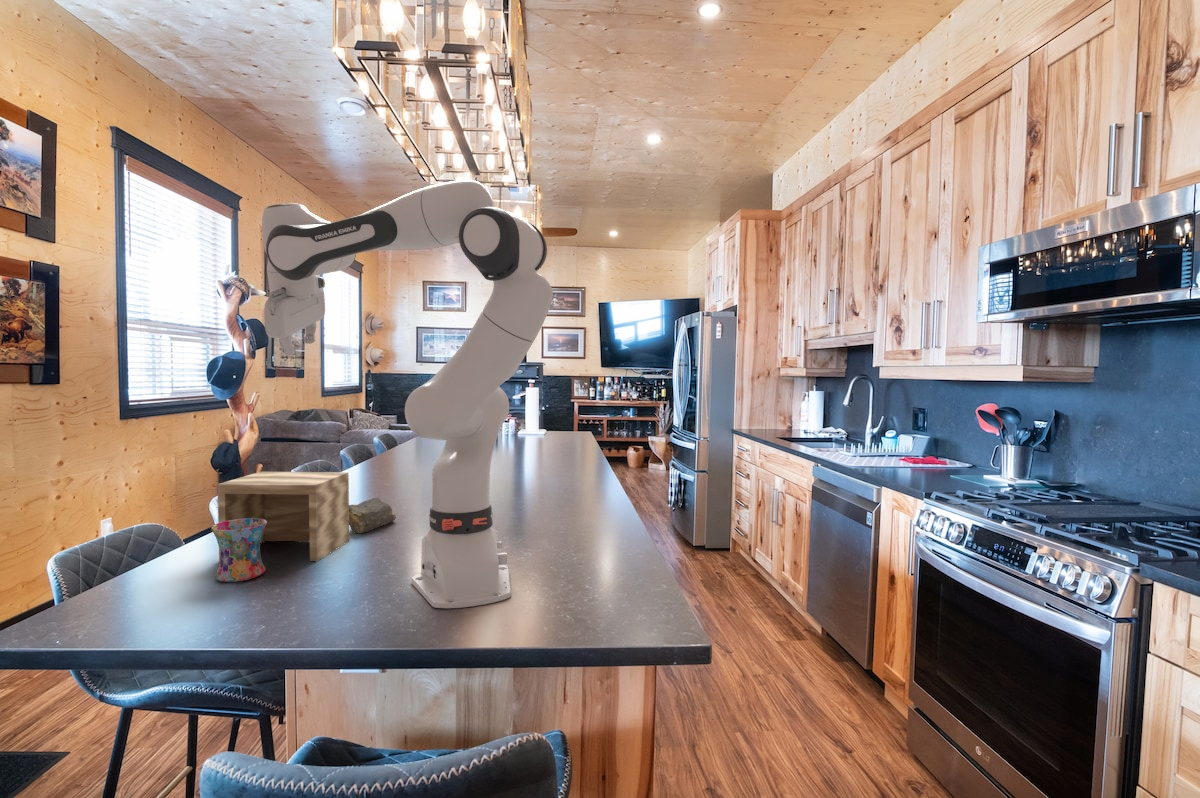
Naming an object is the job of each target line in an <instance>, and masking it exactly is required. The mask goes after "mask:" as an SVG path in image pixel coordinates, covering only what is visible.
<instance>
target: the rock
mask: <svg viewBox="0 0 1200 798" xmlns="http://www.w3.org/2000/svg"><path fill="white" fill-rule="evenodd" d="M396 518H397V515H395V514H394V513H393V509H392V507H391V505H389V504H388V503H386V502H384V501H382V500H381V499H380V498H379V497H372V498H371V499H368V500H367V499H366V500H364V501H362V502H360V503H358V504H349V528H350V530H351V531H352V533H354V532H355V533H354V534H362V533H363V534H366V533H369V532H371V531H372V530H374V528H375V529H378V528H377V527H379V528H381V527H380V526H382V527H384V526H387V525H388V524H390V523H391V522H394V521H395V520H396ZM383 525H384V526H383ZM370 530H371V531H370ZM368 531H369V532H368ZM365 532H366V533H365Z"/></svg>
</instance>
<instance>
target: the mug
mask: <svg viewBox="0 0 1200 798" xmlns="http://www.w3.org/2000/svg"><path fill="white" fill-rule="evenodd" d="M266 524H267V521H266V520H264V519H259V518H245V519H235V520H229V521H224V522H221V523H218V522H217V523H216V524H213V525H212V526H211V529H210V530H211V531H212V533H213V534H214V537H215V539H216V542H217V544H218V551H219V550H220V561H219V565H218V568H217V571H216V573H215V575H214V577H215V579H216V580H217V581H219V582H225V583H236V582H237V583H238V581H239V582H243V581H244V580H245V581H248V580H251V579H254V578H256V577H259V576H261V575H262V574H264V573H265V572H266V569H267V568H266V566H265V565H264V563H263V559H262V555H261V544H260V542H261V537H262V534H263V531H264V528H265V526H266ZM245 581H244V582H245Z"/></svg>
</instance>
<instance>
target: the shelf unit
mask: <svg viewBox="0 0 1200 798" xmlns="http://www.w3.org/2000/svg"><path fill="white" fill-rule="evenodd" d="M349 481H350V480H349V472H346V471H345V472H342V471H341V472H340V471H339V472H338V471H337V472H334V471H332V472H331V471H326V472H325V471H321V472H320V471H257V472H254V473H251V474H248V475H245V476H240V477H237V478H235V479H231V480H227V481H224V482H221V483H220V482H219V483H217V511H218V512H217V519H218V520H217V521H218V522H217V524H218V523H221V522H224V521H229V520H235V519H245V518H259V519H264V520H266V521H267V524H266V526H265V528H264V531H263V534H262V537H261V542H260V543H261V544H263V543H265V542H264V541H301V542H300V543H309V562H310V561H318V560H319V561H321V560H322V559H324V558H326V557H327V556H328V555H327V554H329V553H330V552H332V551H333V550H335V549H336V548H338V547H339V548H341V547H342V546H343V544H344V543H345V544H347V543H349V541H350V525H349V505H350V499H349V498H350V497H349V496H350V491H349V489H350V488H349V484H350V483H349ZM308 541H310V542H308ZM262 542H263V543H262ZM346 542H347V543H346ZM345 544H344V545H345ZM341 545H342V546H341ZM340 546H341V547H340ZM339 548H338V549H339ZM336 550H337V549H336ZM336 550H335V551H336ZM333 552H334V551H333ZM333 552H332V553H333ZM330 554H331V553H330ZM330 554H329V555H330ZM326 555H327V556H326ZM218 557H219V562H220V550H219V549H218ZM323 557H324V558H323ZM321 558H322V559H321ZM320 559H321V560H320ZM319 561H318V562H319Z"/></svg>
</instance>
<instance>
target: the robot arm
mask: <svg viewBox="0 0 1200 798" xmlns="http://www.w3.org/2000/svg"><path fill="white" fill-rule="evenodd" d="M261 217H262V218H261V234H262V241H263V242H262V243H263V249H264V251H265V254H266V258H267V265H266V272H267V281H268V288H269V296H268V298H267V300H265V304H264V309H263V310H264V313H263V314H264V328H265V334H266V335H267V336H268V338H273V339H278V340H279V342H280V345H281V346H282V348H283V353H284V355H286V356H292V355H294V354H296V353H297V351H296V344H295V345H294V344H293V341H292V339H293V335H294V334H295V333H298V332H300V331H301V330H303V329H305V330H304V331H305V332H304V333H305V334H304V335H303V340H304V343H305V344H310V345H311V344H313V343H315V342H316V329H317V322H319V321H321V320H323V319H324V318H325V315H326V302H325V301H326V299H325V291H324V288H325V286H326V281H325V278H324V277H321V276H319V275H325V274H330V273H333V272H340V271H343V270H345V269H348V268H349V267H351V266H352V265H353V264H354V262H355V261H356V258H357V254H361V253H365V252H366V253H367V252H376V251H422V250H434V249H438V248H443V247H447V246H450V245H451V246H452V245H455V244H459V246H460V248H461V251H462V252H463V253H464V256H465V257H466V258H467V259H468V260H469V262H470V263H471V264H472V265H473V266H474V267H475V268H477V270H478V271H479V272H480V274H481V275H482V277H483V278H484V279H485V280H487V281H493V289H492V292H491V294H490V297H489V298H488V300H487V302H486V304H485V305H484V306H483V309H482V311H481V312H480V314H479V316H478V318H477V319H476V321H475V323H474V325H473V326H472V329H470V331H469V333H468V335H467V337H466V338H465V340H464V342H463V343H462V344H461V346H460V347H459V348H458V350H456V353H455V354H454V355H452V357H451V358H450V359H449V360H448V361H447V362H446V363H445V364H444V365H443V366H442V367H441V368H440V370H438V372H437V373H436V374H434V375H433V376H432V377H431V378H430V379H428V380H427V382H425V383H423V384H422V385H420V386H419V387H417V388H416V389H414V390H412V391H411V392H410V394H409V395H408V397H407V399H406V401H405V404H404V417H405V420H406V424H407V426H408V428H409V429H410V430H411V431H412V433H413V434H415V435H416V436H418V437H420V438H423V439H429V440H434V441H435V440H436V441H445V445H444V447H443V450H442V453H441V455H440V456H439V458H438V459H437V460H436V461H435V463H434V465H433V467H432V470H431V507H430V509H429V515H428V518H429V527H430V529H429V531H428V532H427V533H426V534H425V536H423V537H422V539H421V561H420V563H421V564H420V569H421V570H420V573H418V574H415V575H413V576H412V577H411V584H412V586H413V587H414V588H415V589H416V590H417V591H418V592H419V593H420V595H421V596H423V598H424V599H425V600H426V601H427V602H428V603H429V604H430V605H431V607H432V608H437V609H461V608H468V607H469V608H471V607H476V606H482V605H487V604H493V603H497V602H501V601H504V600H506V599H509V598H510V597H512V591H511V590H512V589H511V580H510V573H509V571H510V570H509V567H508V565H507V564H508V553H507V552H499V551H498V549H499V550H501V549H503V541H501V540H499V541H498V530H496V529H495V528H494V527H493V524H494V523H493V517H494V515H493V509H492V505H491V504H490V503H491V502H490V493H491V492H490V489H491V488H490V487H491V486H490V484H491V483H490V481H491V480H490V479H491V475H490V474H491V467H492V466H491V465H492V459H493V454H494V449H495V446H496V443H497V438H498V436H499V435H498V434H499V431H500V430H501V428H502V426H503V425H504V422H506V420H507V418H508V416H509V413H510V400H509V398H508V396H507V394H506V392H505V390H504V389H503V388H501V387H500V386H501V385H502V384H504V383H505V382H506V381H508V380H509V379H511V378H512V377H513V376H514V375H515V374H516V372H517V370H518V369H519V367H520V366H521V364H522V362H523V361H524V359H525V357H526V355H527V354H528V352H529V350H530V349H531V347H532V345H533V344H534V342H535V340H536V338H537V337H538V335H539V333H540V331H541V328H542V326H543V325H544V322H545V320H546V318H547V315H548V313H549V311H550V309H551V308H550V307H551V306H552V302H553V298H554V291H553V287H552V286H551V285H550V282H549V281H548V280H547V279H546V277H544V276H543V275H542V274H540V272H539V273H538V271H539V270H540V269H541V268H542V266H543V265H544V264H545V261H546V259H547V255H548V245H547V241H546V239H545V236H544V235H543V233H542V232H541V231H540V230H539V228H538V227H536V225H534V224H532V223H530V222H528V221H527V220H525V219H524V218H523V217H521V216H520V215H518V214H516V213H513V212H510V211H507V210H505V209H502V208H500V207H495V203H494V200H493V197H492V195H491V193H490V191H489V190H488V189H487V187H486V186H485V185H483V184H482V183H481V182H480V181H478V180H477V181H476V180H474V179H462V180H453V181H446V182H440V183H437V184H433V185H428V186H425V187H422V188H419V189H417V190H413V191H412V192H409V193H406V194H404V195H402V196H400V197H397V198H395V199H392V201H391V200H390V201H389V202H387V203H384V204H382V205H379V206H377V207H375V208H373V209H371V210H367V211H366V212H364V213H362V214H358V215H356V216H352V217H347V218H344V219H340V220H336V221H333V222H331V221H328V220H325V219H324V218H321V217H320V216H318V215H315V214H314V213H313V212H310V211H309V209H308V208H307V207H306V206H305V205H303V204H302V203H301V204H300V203H296V202H292V203H291V202H290V203H277V204H271V205H268V206H267V207H265V208H264V209H263V211H262V216H261Z"/></svg>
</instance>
